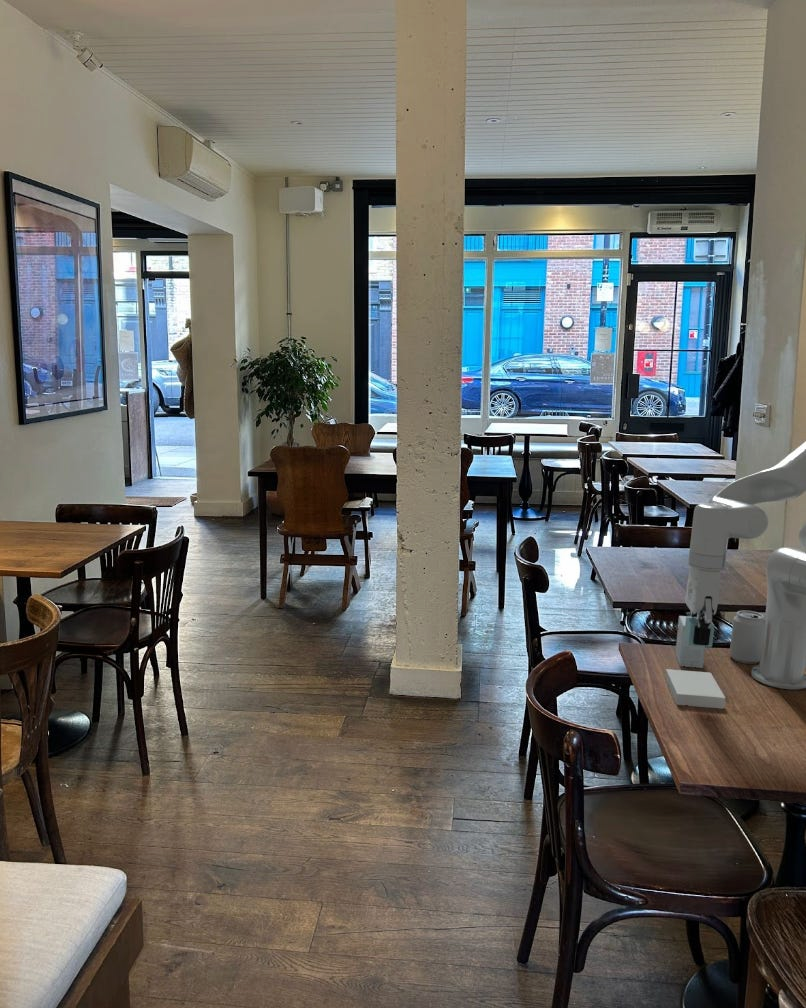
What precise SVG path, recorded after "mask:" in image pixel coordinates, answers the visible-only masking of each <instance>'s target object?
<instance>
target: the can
mask: <svg viewBox="0 0 806 1008" xmlns="http://www.w3.org/2000/svg"><path fill="white" fill-rule="evenodd" d="M764 621H765V616H764V614H762V613H760V612H757V611H753V610H738V611H736V615H734V617H733V619H732V628H731V629H732V630H731V637H730V647H729V656H730V657H731V658H732V659H733V660H734V661H735V662H738V663H742V664H747V665H753V664H757V663H758V662H759V663H760V655H761V647H762V638H763V630H764Z"/></svg>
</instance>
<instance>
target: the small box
mask: <svg viewBox="0 0 806 1008" xmlns="http://www.w3.org/2000/svg"><path fill="white" fill-rule="evenodd" d="M685 622H686V616H685V615H679V616H678V622H677V624H678V625H677V633H676V634H677V635H676V643H675V658H676V660H677V662H678V665H679V667H683V666H685V667H686V668H695V667H696V668H698V669H703V668H704V662H705V652H706V647H703V646H691V645H688V644H687V642H686V640H685V639H684V631H685ZM685 667H684V668H685Z"/></svg>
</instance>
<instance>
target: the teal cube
mask: <svg viewBox="0 0 806 1008" xmlns="http://www.w3.org/2000/svg"><path fill="white" fill-rule="evenodd" d="M701 619H702V617H701ZM695 626H697V617H690V615H689V616H686V622H685V631H684V639H685V640H686V642H687V644H688V645H691V646H703V647H705V648H712V647H713V643H714V642H713V641H714V633H715V627H716V626H715V624H714V623H713V620H712V621H711V630H710V639H709V645H695V644H694V643H693V639H694V630H695Z"/></svg>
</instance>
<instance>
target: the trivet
mask: <svg viewBox="0 0 806 1008" xmlns="http://www.w3.org/2000/svg"><path fill="white" fill-rule="evenodd" d="M664 680H665V683H666V685H667V687H668V689H669V692H670V693H671V697H672V699H673V698H674V699H673V700H674V702H675V705H676V706H685V705H688V706H690V707H699V708H708V709H709V708H710V709H720V710H721V709H725V707H726V706H725V705H726V696H725V695H724V693H723V691H722V689H721V688H720V686H719V684H718V683H717V681H716V679H715V677H714V676H713V674H712V673H711V672H708V671H707V672H706V671H695V670H693V671H692V670H682V669H680V670H679V669H669V668H668V669H667V668H666V669H665V676H664Z"/></svg>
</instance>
